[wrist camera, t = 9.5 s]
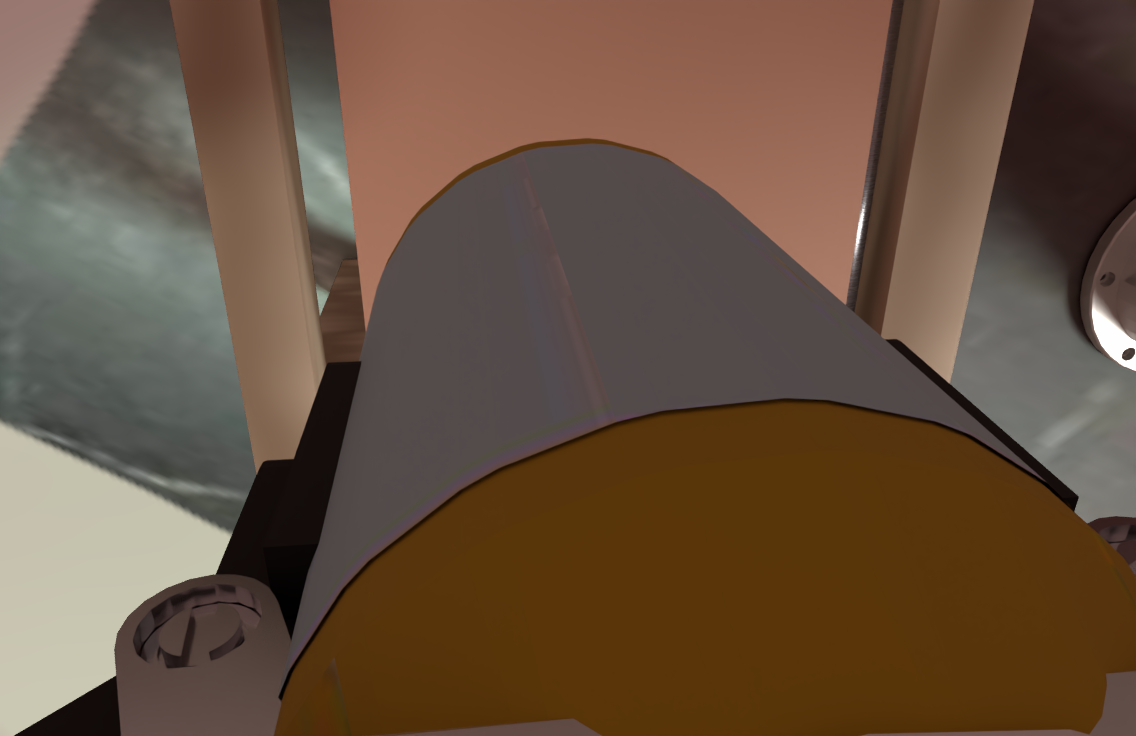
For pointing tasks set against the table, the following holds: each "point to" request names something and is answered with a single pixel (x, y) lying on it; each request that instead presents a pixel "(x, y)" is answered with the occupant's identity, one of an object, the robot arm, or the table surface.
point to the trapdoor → (625, 105)
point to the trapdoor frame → (285, 270)
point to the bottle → (674, 494)
